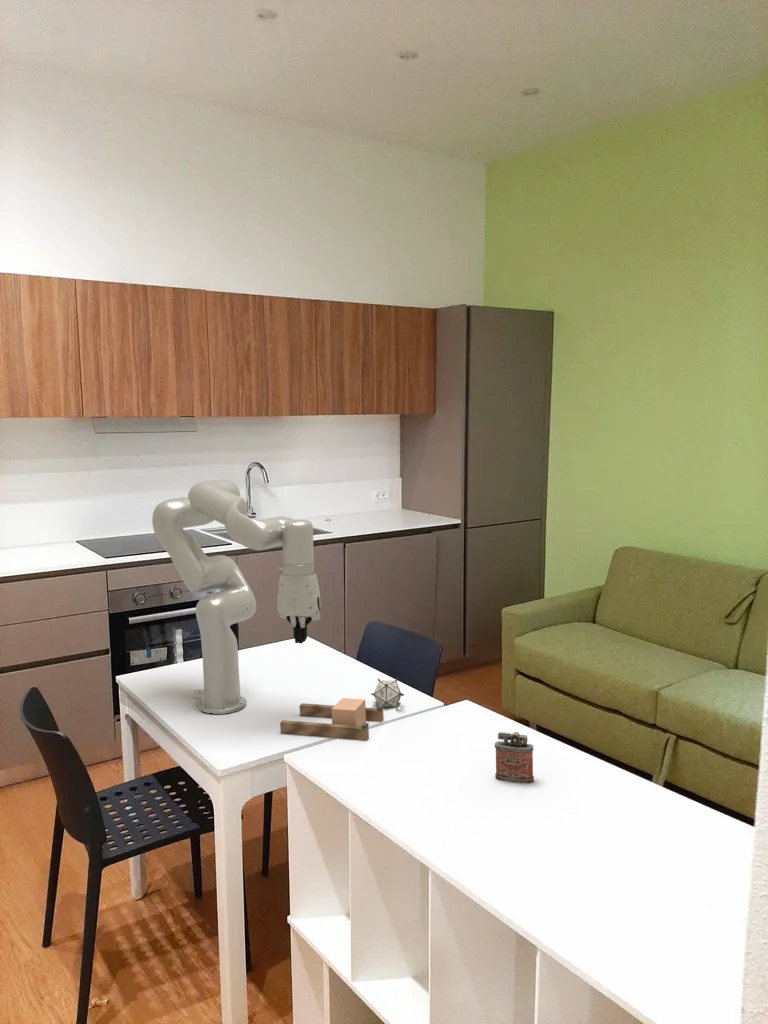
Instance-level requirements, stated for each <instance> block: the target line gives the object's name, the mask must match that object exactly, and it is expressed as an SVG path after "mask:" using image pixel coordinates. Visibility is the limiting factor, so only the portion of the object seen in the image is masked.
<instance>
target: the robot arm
mask: <svg viewBox="0 0 768 1024" xmlns="http://www.w3.org/2000/svg"><path fill="white" fill-rule="evenodd" d="M248 510H249V509H248V502H247V501H246V499H245V498H243V497H242V496H241V493H240V489H239V488H238V486H237V484H236V483H234V482H233V481H231V480H230V479H229V480H228V479H217V480H216V479H215V480H205V481H200V482H197V483H196V484H194V485H193V486H191V488H189V491H188V493H187V496H184V497H174V498H169V499H167V500H166V499H165V500H163V501H161V502H159V503H158V504H157V505H156V506H155V508H154V509H153V512H152V518H151V522H152V528H153V531H154V535H155V537H156V539H157V540H158V542H159V543H160V545H161V546H162V547H163V549H164V550H165V551H166V553H167V554H168V556H169V557H170V558H171V561H172V563H173V564H174V566H175V568H176V570H177V572H178V575H179V576H180V577H181V579H182V581H183V583H184V585H185V586H186V588H187V590H188V591H189V592H191V593H192V594H194V595H195V594H196V595H200V594H201V595H202V594H206V593H209V594H206V595H205V596H203V597H202V598H201V599H200V600H198V602H197V604H196V606H195V607H196V608H195V615H196V617H195V618H196V620H197V625H198V628H199V633H200V640H201V641H200V643H201V653H202V654H201V656H202V657H201V658H202V673H203V687H204V689H193V692H192V698H193V700H200V701H201V702H200V703H199V704H198V705H199V710H200V709H201V710H202V711H205V712H208V713H207V714H209V713H213V714H212V715H222V714H223V715H225V714H229V713H230V714H231V713H235V712H238V711H241V710H242V709H244V708H245V707H246V706H247V699H246V698H245V697H244V696H242V695H241V687H240V686H241V685H240V667H239V649H238V640H237V637H236V635H235V633H234V632H233V630H232V629H231V626H232V625H234V624H238V623H240V622H241V623H242V622H244V621H246V620H249V619H251V618H252V617H253V616H254V615H255V614H256V611H257V600H256V598H255V594H254V592H253V591H252V589H251V587H250V585H249V584H248V582H247V580H246V578H245V577H244V574H243V573H242V571H241V569H240V568H239V566H238V564H237V563H236V562H235V561H234V560H233V559H232V558H231V557H229V556H227V555H224V554H223V555H222V554H218V555H217V554H216V555H214V556H213V555H212V556H208V555H207V554H206V553H205V552H204V550H203V549H202V547H201V545H200V543H199V542H198V541H197V539H195V538H194V536H192V535H191V534H189V533H188V532H186V531H185V530H184V529H188V528H192V527H200V526H205V525H208V524H210V523H213V522H214V521H215V522H217V523H220V524H222V525H224V528H225V530H226V532H227V534H228V536H229V537H230V539H232V540H233V541H234V542H236V543H238V544H240V545H242V546H243V547H245V548H248V549H249V550H254V551H264V550H268V549H273V548H279V547H280V548H281V547H282V563H281V564H280V563H279V564H278V570H281V571H282V574H281V575H280V577H279V581H278V589H277V604H276V605H277V612H278V614H279V618H281V619H283V620H287V621H288V622H289V624H290V626H291V628H293V631H292V632H293V639H294V643H295V644H303V643H305V642H306V640H307V638H308V626H309V625H310V623H311V622H316V621H318V620H320V619H322V618H321V617H322V616H321V613H320V612H321V608H322V607H321V603H322V602H321V592H320V586H319V580H318V576H317V574H315V564H314V563H315V561H314V560H315V557H314V526H313V523H312V522H311V521H310V520H308V519H295V518H291V517H287V516H276V517H275V516H274V517H268V518H261V519H257V520H256V519H254V518H251V517H249V516H247V514H248ZM218 590H219V591H218ZM214 591H217V592H214ZM210 592H211V593H210ZM212 592H213V593H212ZM201 710H200V711H201ZM202 711H201V712H202Z"/></svg>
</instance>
